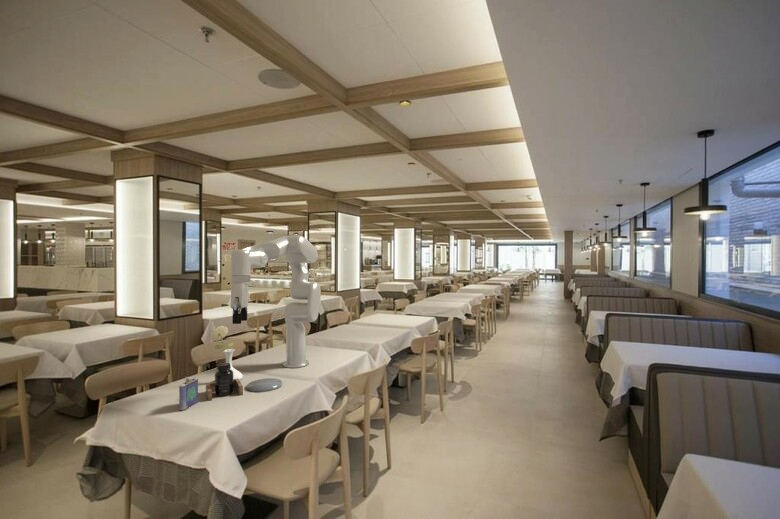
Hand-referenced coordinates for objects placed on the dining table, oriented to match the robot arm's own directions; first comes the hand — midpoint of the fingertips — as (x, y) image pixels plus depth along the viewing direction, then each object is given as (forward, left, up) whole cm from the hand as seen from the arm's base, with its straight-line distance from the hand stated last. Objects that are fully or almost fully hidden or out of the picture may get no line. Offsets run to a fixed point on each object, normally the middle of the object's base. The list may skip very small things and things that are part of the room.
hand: (240, 322), depth 157 cm
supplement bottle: (-1, -6, -29) cm, 29 cm away
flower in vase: (-17, -3, -29) cm, 33 cm away
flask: (+6, -19, -29) cm, 35 cm away
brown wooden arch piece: (-1, -6, -28) cm, 29 cm away
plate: (-2, +10, -28) cm, 30 cm away
